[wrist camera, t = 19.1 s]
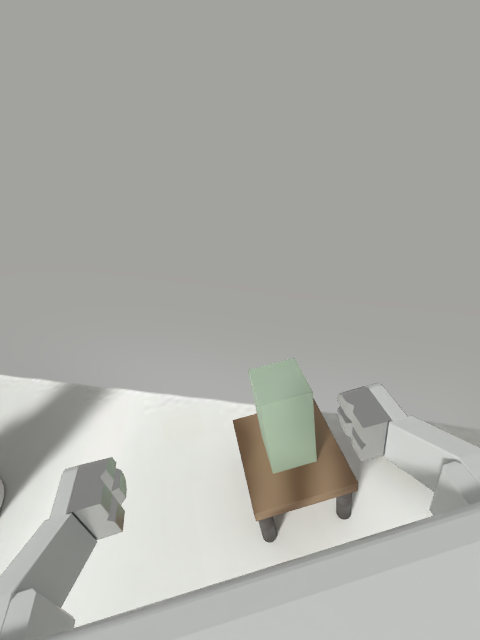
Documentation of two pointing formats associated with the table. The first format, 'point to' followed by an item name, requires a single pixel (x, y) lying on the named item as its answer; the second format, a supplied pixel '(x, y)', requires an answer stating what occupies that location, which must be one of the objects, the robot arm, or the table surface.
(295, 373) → the green block
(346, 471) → the peg shelf
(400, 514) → the table surface
